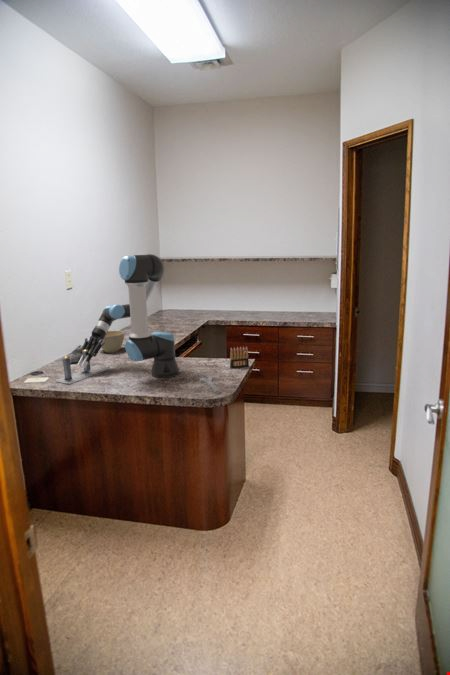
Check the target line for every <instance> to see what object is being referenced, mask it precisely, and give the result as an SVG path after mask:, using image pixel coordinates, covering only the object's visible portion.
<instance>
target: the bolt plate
mask: <svg viewBox="0 0 450 675" xmlns="http://www.w3.org/2000/svg"><path fill="white" fill-rule="evenodd" d="M62 363H63V365H62V366H63V373H64V376H62V377H60V378H57V379H55V382H57V383H60V384H66V385H71V384H74V383H76V382H79V381H82V380H85V379H87V378H91V377H92V376H96V375H98V374H101V373H102V372H105V371H108V370H111V366H107V365H100V364H95V365H92V366H90V370H91V371H88V372H86V371H84V369H81V370H79V371H75V372H73V373H72V369H71V362H70V358H69V356H68V355H65V356H62Z"/></svg>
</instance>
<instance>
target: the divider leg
mask: <svg viewBox="0 0 450 675" xmlns="http://www.w3.org/2000/svg"><path fill="white" fill-rule="evenodd" d="M82 351H83V352H82V355H83V361H84V359H85V358H86V356H87V355H88V354H89V352H90V351H88V349H84V350H82ZM88 356H89V355H88ZM90 361H91V360H90ZM90 361H89V362H88V364H87V366H86V368H84V367H83V370H84V371H86V372H88V371H91V370H90V367H91V364H90Z"/></svg>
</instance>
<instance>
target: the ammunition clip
mask: <svg viewBox="0 0 450 675" xmlns="http://www.w3.org/2000/svg"><path fill="white" fill-rule="evenodd" d="M229 356H230V357H229V358H230V359H229V368H230V369H232V370H233V369H240V368H241V369H242V368H249V367H250V361H249V350H248V346H246V347H245V346H243V347H242V346H240V347H238V346H237V347H236V348H235V346H234V347H233V348H232V347H230V354H229Z"/></svg>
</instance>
